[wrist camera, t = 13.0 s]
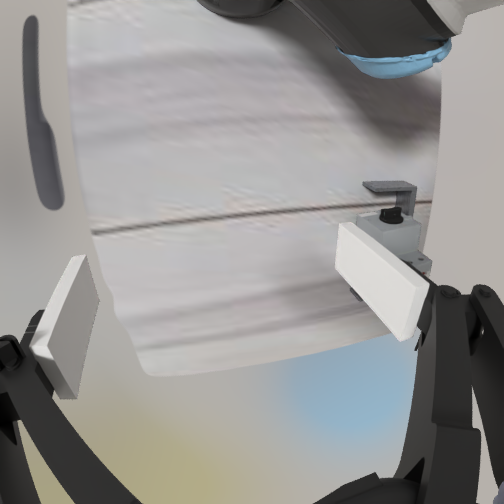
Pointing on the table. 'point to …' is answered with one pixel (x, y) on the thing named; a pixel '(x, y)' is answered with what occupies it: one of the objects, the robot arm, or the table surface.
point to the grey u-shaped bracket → (404, 200)
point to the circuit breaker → (396, 235)
